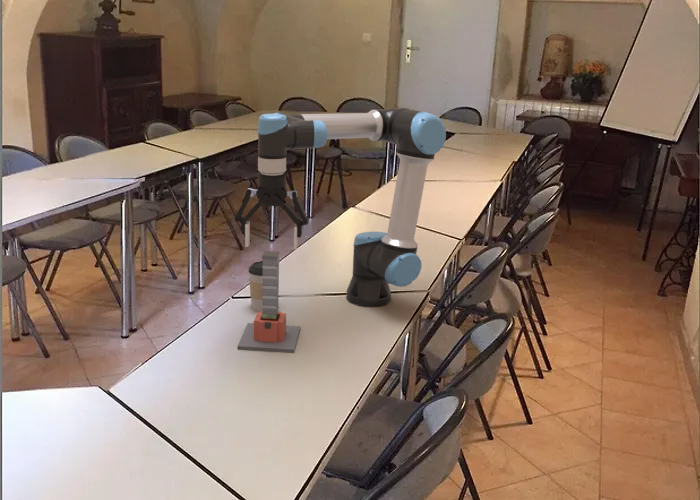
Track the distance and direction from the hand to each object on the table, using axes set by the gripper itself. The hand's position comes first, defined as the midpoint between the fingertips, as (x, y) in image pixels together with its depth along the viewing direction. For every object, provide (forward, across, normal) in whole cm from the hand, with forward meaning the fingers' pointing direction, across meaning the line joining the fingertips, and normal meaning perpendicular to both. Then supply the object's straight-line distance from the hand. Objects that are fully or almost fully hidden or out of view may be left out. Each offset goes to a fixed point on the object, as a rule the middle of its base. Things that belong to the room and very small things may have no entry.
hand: (271, 246), depth 200 cm
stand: (+28, 0, 0) cm, 28 cm away
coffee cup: (+28, +6, -23) cm, 37 cm away
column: (+21, 0, 0) cm, 21 cm away
